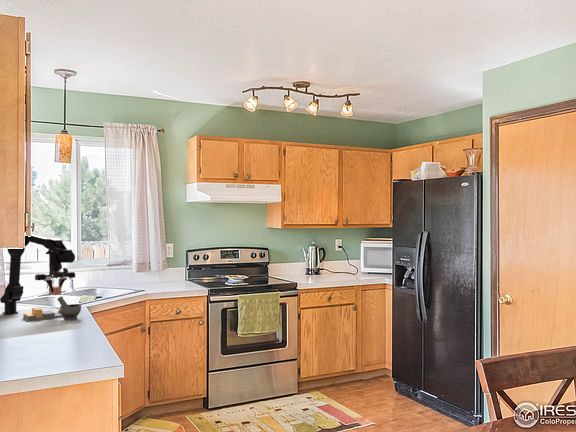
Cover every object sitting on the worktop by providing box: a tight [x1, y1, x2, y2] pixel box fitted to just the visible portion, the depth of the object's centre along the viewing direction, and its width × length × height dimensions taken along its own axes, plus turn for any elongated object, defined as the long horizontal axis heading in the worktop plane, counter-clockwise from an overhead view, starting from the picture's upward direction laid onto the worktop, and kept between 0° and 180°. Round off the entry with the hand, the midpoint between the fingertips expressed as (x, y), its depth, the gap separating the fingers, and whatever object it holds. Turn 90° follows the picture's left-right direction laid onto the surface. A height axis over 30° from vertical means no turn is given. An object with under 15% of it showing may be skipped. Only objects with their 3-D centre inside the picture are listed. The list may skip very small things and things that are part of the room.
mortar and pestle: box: [57, 295, 82, 322], centre depth 258 cm, size 11×9×12 cm
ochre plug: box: [31, 306, 43, 318], centre depth 262 cm, size 9×3×4 cm, turn 39°
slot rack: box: [22, 308, 64, 322], centre depth 264 cm, size 10×20×3 cm, turn 130°
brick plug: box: [48, 285, 62, 296], centre depth 268 cm, size 9×3×4 cm, turn 47°
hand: (55, 292), depth 267 cm, fingers closed on brick plug, 3 cm apart
